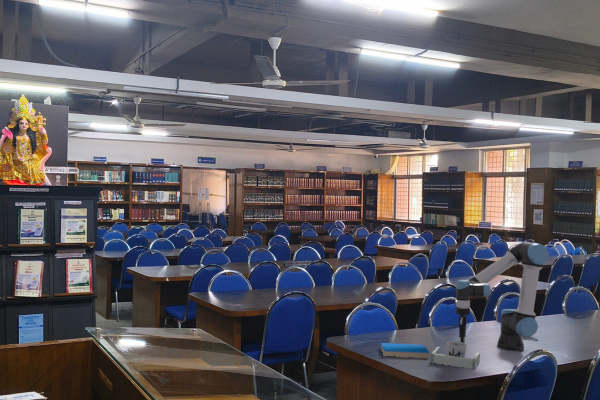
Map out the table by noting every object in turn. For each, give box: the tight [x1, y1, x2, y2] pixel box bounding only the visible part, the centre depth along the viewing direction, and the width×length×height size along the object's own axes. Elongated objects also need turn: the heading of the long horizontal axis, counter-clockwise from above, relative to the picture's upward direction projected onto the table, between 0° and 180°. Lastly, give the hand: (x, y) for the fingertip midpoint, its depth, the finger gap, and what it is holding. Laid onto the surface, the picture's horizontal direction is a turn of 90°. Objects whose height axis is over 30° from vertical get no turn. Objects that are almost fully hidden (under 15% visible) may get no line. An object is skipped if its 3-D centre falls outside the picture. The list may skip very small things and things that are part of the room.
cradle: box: [430, 346, 481, 370], centre depth 300 cm, size 23×17×5 cm
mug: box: [446, 340, 468, 358], centre depth 302 cm, size 10×15×10 cm
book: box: [380, 342, 430, 359], centre depth 314 cm, size 17×4×25 cm
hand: (462, 348), depth 318 cm, fingers closed
